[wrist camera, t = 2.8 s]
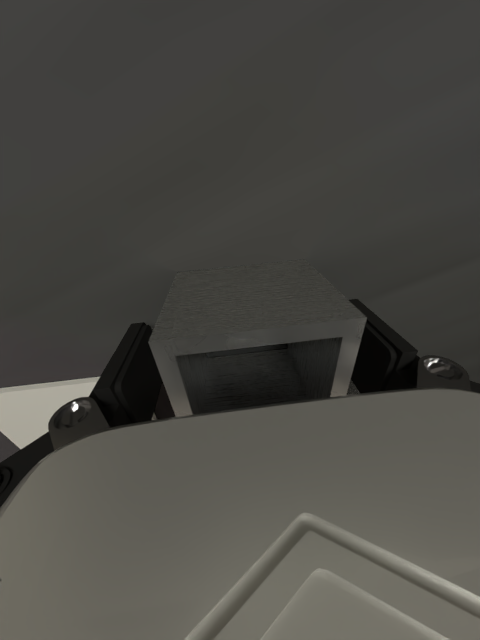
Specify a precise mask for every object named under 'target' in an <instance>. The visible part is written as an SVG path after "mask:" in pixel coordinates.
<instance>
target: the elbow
mask: <svg viewBox="0 0 480 640" xmlns="http://www.w3.org/2000/svg"><path fill="white" fill-rule="evenodd" d="M366 320H367V317H366V316H365V315H364V314H363V313H362V312H361V311H360V310H358V309H357V308H356V307H355V306H354V305H353V304H352V303H351V302H350V301H349V300H348V299H347V298H345V297H344V296H343V295H342V294H341V293H340V292H339V291H338V290H337V289H336V288H335V287H334V286H333V285H331V284H330V283H329V282H328V281H327V280H326V279H325V278H324V277H323V276H322V275H321V274H320V273H318V272H317V271H316V270H315V269H314V268H313V267H312V266H311V265H310V264H309V263H308V262H307V261H306V260H304V259H301V260H291V261H281V262H271V263H261V264H252V265H242V266H232V267H222V268H212V269H202V270H193V271H183V272H177V274H176V277H175V279H174V281H173V284H172V286H171V289H170V291H169V293H168V296H167V298H166V301H165V303H164V305H163V308H162V310H161V313H160V315H159V317H158V320H157V322H156V325H155V327H154V329H153V332H152V334H151V337H150V339H149V341H148V343H149V346H150V348H151V351H152V354H153V356H154V359H155V362H156V364H157V367H158V370H159V373H160V375H161V378H162V381H163V383H164V386H165V389H166V391H167V394H168V397H169V400H170V402H171V405H172V408H173V410H174V413H175V416H176V417H179V416H187V415H194V414H202V413H209V412H217V411H225V410H232V409H240V408H248V407H256V406H264V405H271V404H279V403H287V402H295V401H303V400H312V399H320V398H328V397H337V396H345V395H346V394H347V390H348V387H349V383H350V379H351V376H352V372H353V368H354V364H355V361H356V357H357V353H358V350H359V346H360V342H361V338H362V335H363V331H364V327H365V323H366ZM284 343H288V349H281V350H272V351H264V352H255V353H246V354H238V355H229V356H220V357H212V358H207V353H206V352H214V351H223V350H231V349H240V348H249V347H258V346H266V345H275V344H284Z"/></svg>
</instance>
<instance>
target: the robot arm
mask: <svg viewBox="0 0 480 640" xmlns="http://www.w3.org/2000/svg"><path fill="white" fill-rule="evenodd" d="M349 301H350V302H351V303H352V304H353V305H354V306H355V307H356V308H357V309H358V310H360V311H361V312H362V313H363V314H364V315H365V316H366V317H367V320H366V323H365V327H364V331H363V335H362V338H361V342H360V346H359V350H358V353H357V357H356V361H355V364H354V368H353V372H352V376H351V380H352V381H353V383H354V384H355V386H356V387H357V389H358V390H359V392H360V393H361V394H353V395H345V396H337V397H328V398H320V399H312V400H303V401H295V402H287V403H279V404H271V405H264V406H256V407H248V408H240V409H232V410H225V411H217V412H209V413H202V414H194V415H187V416H179V417H172V418H165V419H158V420H152V417H153V414H154V410H155V406H156V402H157V399H158V395H159V391H160V387H161V384H162V378H161V375H160V373H159V370H158V367H157V364H156V362H155V359H154V356H153V354H152V351H151V348H150V346H149V343H148V341H149V339H150V337H151V334H152V330H151V327H150V326H149V325H146V324H145V323H135V324H131V325H130V327H129V329H128V330H127V332H126V334H125V335H124V337H123V339H122V341H121V342H120V344H119V346H118V347H117V349H116V351H115V353H114V354H113V356H112V357H111V359H110V361H109V363H108V364H107V366H106V368H105V369H104V371H103V373H102V375H101V376H100V378H99V380H98V381H97V383H96V385H95V387H94V388H93V390H92V392H91V393H90V395H89V397H80V398H77V399H74V400H72V401H70V402H68V403H66V404H65V405H63V406H61V407H60V408H59V409H58V410H57V411H56V412H55V413H54V414H53V416H52V417H51V418H50V421H49V423H48V430H49V431H48V432H47V433H45V434H44V435H42V436H41V437H39V438H38V439H36V440H35V441H33V442H32V443H30V444H29V445H27V446H25V447H24V448H22V449H21V450H19V451H18V452H16V453H15V454H13V455H12V456H10V457H9V458H7V459H6V460H4V461H2V462H1V463H0V640H480V384H479V383H476V382H473V381H470V380H469V375H468V373H467V371H466V370H465V369H464V368H463V367H462V366H460V365H459V364H458V363H456V362H454V361H452V360H450V359H447V358H444V357H440V356H435V355H427V356H423V357H421V358H419V357H418V356H417V355H416V354H417V352H418V350H416V349H415V348H414V347H413V346H412V345H410V344H409V343H408V342H407V341H406V340H405V339H403V338H402V337H401V336H400V335H399V334H398V333H396V332H395V331H394V330H393V329H392V328H391V327H389V326H388V325H387V324H386V323H385V322H384V321H382V320H381V319H380V318H379V317H378V316H377V315H375V314H374V313H373V312H372V311H371V310H370V309H368V308H367V307H366V306H365V305H364V304H363V303H361V302H360V301H359V300H358V299H353V300H349Z"/></svg>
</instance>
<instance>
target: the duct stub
mask: <svg viewBox="0 0 480 640" xmlns="http://www.w3.org/2000/svg"><path fill="white" fill-rule="evenodd" d="M99 378H100V377H93V378H84V379H76V380H67V381H58V382H50V383H41V384H33V385H24V386H15V387H7V388H0V431H1V432H2V433H3V434H4V435H5V436H7V437H8V438H9V439H10V440H11V441H12V442H13V443H14V444H15V445H17V446H18V447H19V448H20V449H22V448H24V447H25V446H27V445H29V444H30V443H32V442H33V441H35V440H36V439H38V438H39V437H41V436H42V435H44V434H45V433H47V432H48V431H49V430H48V423H49V421H50V418H51V417H52V416H53V414H54V413H55V412H56V411H57V410H58V409H59V408H60V407H61V406H63V405H65V404H66V403H68V402H70V401H72V400H74V399H77V398H80V397H89V395H90V393H91V392H92V390H93V388H94V387H95V385H96V383H97V381H98V380H99ZM152 420H157V418H156V416H155V414H153V417H152Z"/></svg>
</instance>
